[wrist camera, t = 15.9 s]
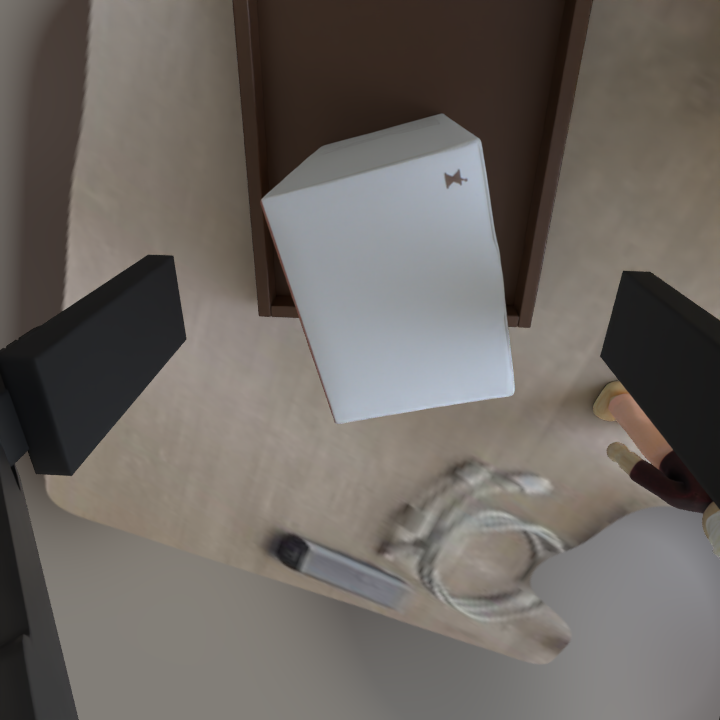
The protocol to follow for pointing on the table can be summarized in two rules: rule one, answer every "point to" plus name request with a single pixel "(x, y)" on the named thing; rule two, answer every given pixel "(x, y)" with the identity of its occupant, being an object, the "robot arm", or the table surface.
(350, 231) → the small box
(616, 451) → the grandmother figurine
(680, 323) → the robot arm
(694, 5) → the table surface
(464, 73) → the tray
